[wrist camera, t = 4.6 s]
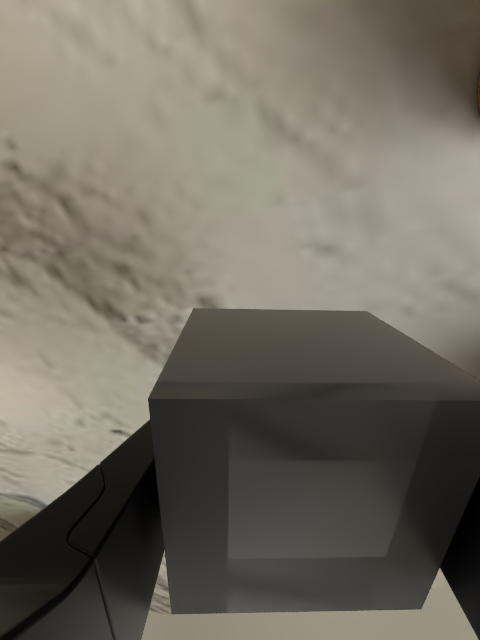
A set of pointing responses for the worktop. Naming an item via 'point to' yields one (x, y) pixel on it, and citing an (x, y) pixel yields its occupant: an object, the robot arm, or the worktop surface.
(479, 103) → the disposable coffee cup
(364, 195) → the worktop surface
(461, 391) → the grey block
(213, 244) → the worktop surface
